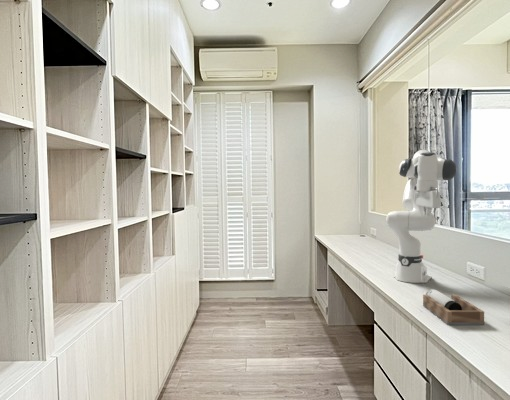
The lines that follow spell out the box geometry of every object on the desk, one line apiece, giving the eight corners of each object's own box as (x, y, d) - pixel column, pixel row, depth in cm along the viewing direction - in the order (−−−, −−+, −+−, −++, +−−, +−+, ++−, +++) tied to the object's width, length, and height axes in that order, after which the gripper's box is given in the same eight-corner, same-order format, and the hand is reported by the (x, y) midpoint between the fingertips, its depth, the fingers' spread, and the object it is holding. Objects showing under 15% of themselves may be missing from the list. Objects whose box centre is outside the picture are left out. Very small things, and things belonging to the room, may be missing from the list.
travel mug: (423, 289, 167) (446, 304, 147) (438, 288, 167) (463, 302, 147) (424, 303, 168) (447, 319, 148) (439, 301, 168) (464, 317, 148)
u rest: (423, 306, 166) (423, 294, 166) (454, 305, 166) (455, 294, 165) (447, 325, 144) (447, 311, 144) (484, 324, 144) (484, 311, 143)
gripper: (444, 187, 164) (444, 218, 165) (425, 186, 184) (424, 214, 185) (430, 187, 164) (430, 218, 165) (412, 186, 185) (411, 214, 185)
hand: (427, 216), depth 175 cm, fingers closed
